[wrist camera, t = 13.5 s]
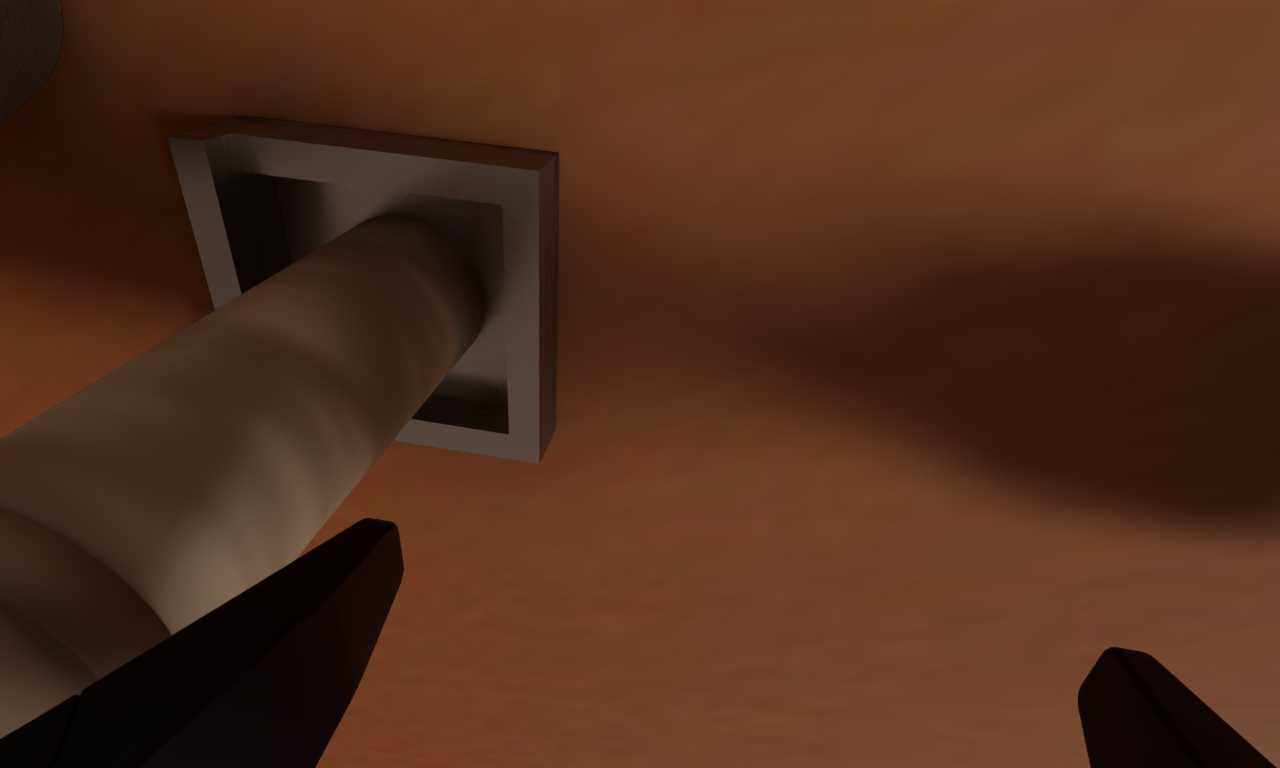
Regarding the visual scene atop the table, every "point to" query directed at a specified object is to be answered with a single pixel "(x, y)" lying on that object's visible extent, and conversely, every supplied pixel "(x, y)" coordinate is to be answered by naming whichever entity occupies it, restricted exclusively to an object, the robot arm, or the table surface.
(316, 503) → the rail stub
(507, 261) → the grey tray
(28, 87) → the plant pot
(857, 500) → the table surface
